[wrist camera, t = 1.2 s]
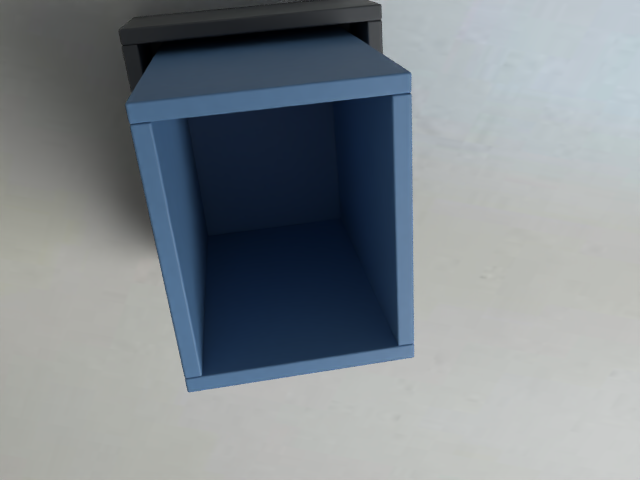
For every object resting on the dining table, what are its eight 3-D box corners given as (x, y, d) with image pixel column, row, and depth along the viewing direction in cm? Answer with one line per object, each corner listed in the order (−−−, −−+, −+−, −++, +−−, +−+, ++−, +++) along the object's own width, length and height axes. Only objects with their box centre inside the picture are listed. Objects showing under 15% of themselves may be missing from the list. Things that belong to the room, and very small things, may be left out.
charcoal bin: (133, 17, 27) (117, 29, 23) (358, -5, 28) (381, 4, 24) (181, 259, 32) (175, 303, 28) (369, 234, 33) (389, 273, 29)
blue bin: (161, 42, 27) (123, 103, 16) (338, 24, 28) (412, 71, 17) (198, 242, 32) (187, 393, 21) (350, 222, 32) (414, 357, 22)
